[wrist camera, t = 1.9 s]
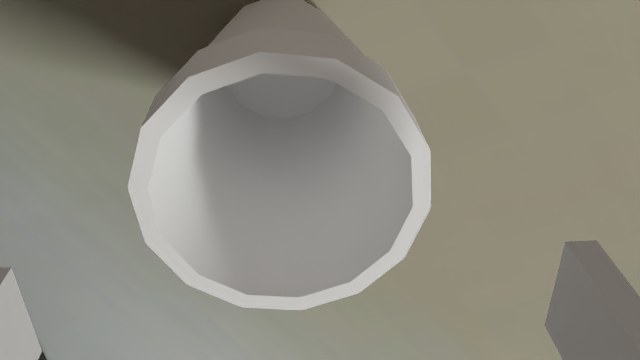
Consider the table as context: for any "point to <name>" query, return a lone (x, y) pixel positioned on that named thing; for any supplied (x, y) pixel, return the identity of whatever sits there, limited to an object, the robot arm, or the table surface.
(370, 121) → the foam cup
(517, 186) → the table surface
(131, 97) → the table surface
